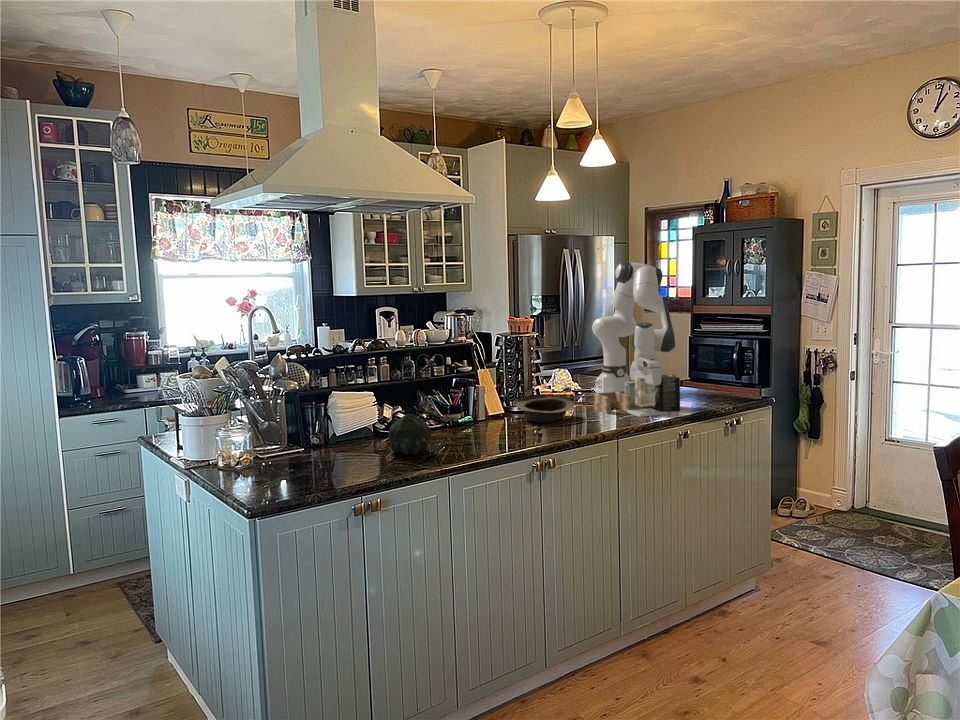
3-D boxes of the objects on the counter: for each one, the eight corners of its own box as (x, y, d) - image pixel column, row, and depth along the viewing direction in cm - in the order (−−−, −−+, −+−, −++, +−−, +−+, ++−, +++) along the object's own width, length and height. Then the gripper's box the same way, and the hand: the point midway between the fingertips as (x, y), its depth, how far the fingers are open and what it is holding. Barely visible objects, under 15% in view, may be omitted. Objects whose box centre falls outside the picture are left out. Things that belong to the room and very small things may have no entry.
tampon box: (680, 410, 315) (680, 377, 313) (659, 411, 315) (659, 378, 313) (674, 406, 326) (674, 374, 324) (653, 406, 326) (653, 374, 324)
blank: (635, 404, 312) (634, 377, 311) (649, 403, 314) (649, 376, 313) (640, 406, 308) (640, 378, 306) (655, 405, 310) (654, 377, 308)
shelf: (593, 408, 325) (593, 382, 324) (636, 404, 332) (636, 378, 330) (607, 413, 313) (606, 386, 311) (651, 409, 319) (651, 382, 318)
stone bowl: (541, 411, 323) (542, 390, 321) (586, 422, 305) (587, 400, 304) (502, 419, 306) (503, 397, 304) (548, 431, 288) (549, 408, 287)
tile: (626, 412, 315) (626, 410, 315) (649, 410, 318) (649, 407, 318) (639, 416, 304) (639, 414, 304) (662, 414, 308) (662, 412, 308)
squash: (411, 429, 266) (393, 404, 257) (444, 435, 258) (426, 409, 248) (393, 461, 259) (373, 436, 249) (425, 468, 251) (406, 442, 241)
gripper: (626, 359, 318) (626, 390, 319) (650, 364, 298) (651, 397, 300) (638, 358, 319) (639, 389, 321) (664, 363, 300) (664, 396, 302)
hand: (645, 393), depth 310 cm, fingers closed on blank, 4 cm apart
